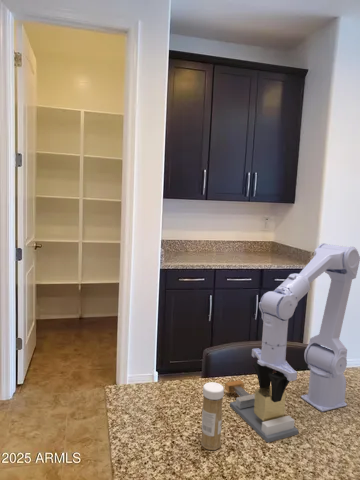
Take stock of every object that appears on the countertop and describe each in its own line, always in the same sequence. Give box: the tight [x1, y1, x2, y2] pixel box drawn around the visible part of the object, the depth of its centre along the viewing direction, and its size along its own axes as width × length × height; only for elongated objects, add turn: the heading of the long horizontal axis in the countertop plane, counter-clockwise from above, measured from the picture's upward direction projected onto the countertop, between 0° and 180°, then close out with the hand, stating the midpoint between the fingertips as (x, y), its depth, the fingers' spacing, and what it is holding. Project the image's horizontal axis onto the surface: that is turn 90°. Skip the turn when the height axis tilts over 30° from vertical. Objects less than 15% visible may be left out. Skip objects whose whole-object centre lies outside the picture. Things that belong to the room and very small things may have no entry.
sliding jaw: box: [224, 379, 255, 409], centre depth 98 cm, size 8×10×2 cm
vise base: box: [229, 400, 299, 443], centre depth 90 cm, size 9×16×3 cm, turn 24°
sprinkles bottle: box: [200, 381, 225, 451], centre depth 79 cm, size 5×5×14 cm
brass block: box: [254, 385, 286, 422], centre depth 87 cm, size 6×4×6 cm, turn 114°
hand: (270, 396), depth 87 cm, fingers closed on brass block, 4 cm apart
